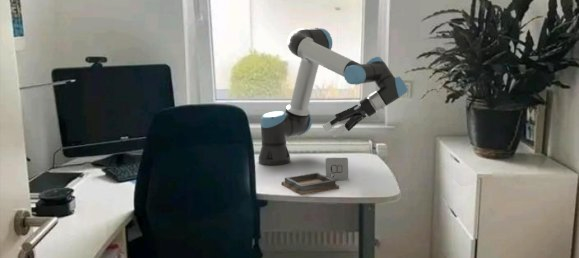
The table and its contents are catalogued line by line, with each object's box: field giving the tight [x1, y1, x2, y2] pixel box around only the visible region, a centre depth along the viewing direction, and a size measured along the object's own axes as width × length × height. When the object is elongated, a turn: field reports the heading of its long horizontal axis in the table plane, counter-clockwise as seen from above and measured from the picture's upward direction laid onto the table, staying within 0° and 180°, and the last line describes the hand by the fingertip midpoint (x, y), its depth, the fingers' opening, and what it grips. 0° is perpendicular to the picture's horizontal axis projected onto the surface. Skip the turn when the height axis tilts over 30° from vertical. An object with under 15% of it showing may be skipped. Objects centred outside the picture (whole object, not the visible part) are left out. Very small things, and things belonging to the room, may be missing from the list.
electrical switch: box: [325, 157, 349, 181], centre depth 234 cm, size 9×5×9 cm, turn 87°
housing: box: [281, 172, 340, 196], centre depth 224 cm, size 17×17×3 cm
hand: (328, 132), depth 232 cm, fingers open, 13 cm apart
